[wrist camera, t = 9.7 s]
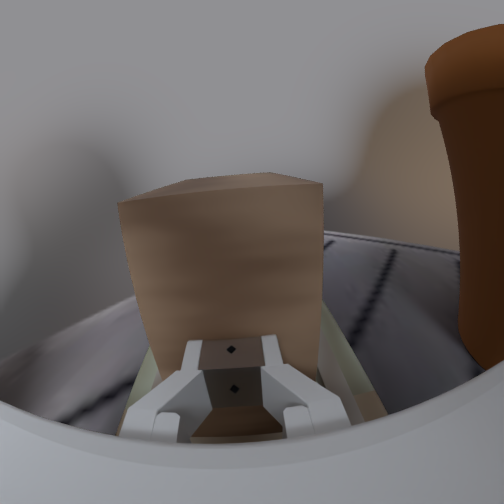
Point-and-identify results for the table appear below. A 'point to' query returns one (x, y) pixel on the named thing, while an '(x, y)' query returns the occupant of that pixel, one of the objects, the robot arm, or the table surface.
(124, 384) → the table surface
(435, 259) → the table surface
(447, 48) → the flowerpot
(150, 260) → the walnut block
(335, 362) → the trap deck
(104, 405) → the table surface
